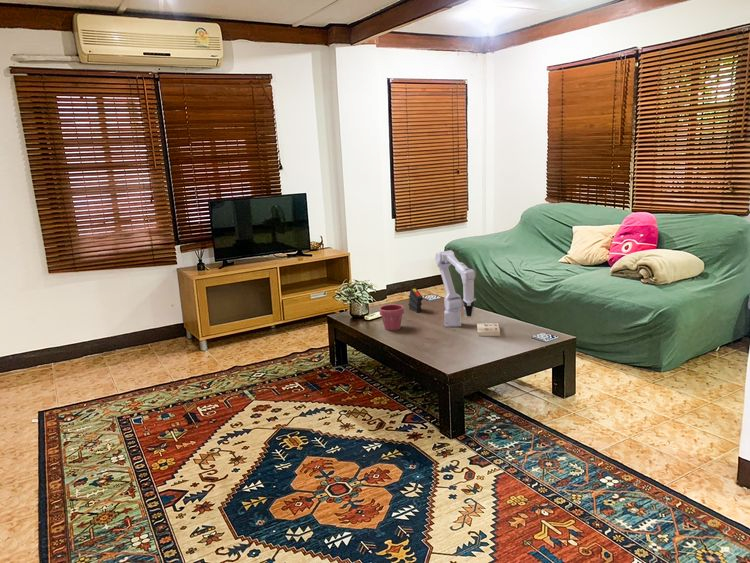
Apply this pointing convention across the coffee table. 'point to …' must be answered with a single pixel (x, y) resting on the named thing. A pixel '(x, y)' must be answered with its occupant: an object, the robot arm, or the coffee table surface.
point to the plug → (468, 316)
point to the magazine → (415, 300)
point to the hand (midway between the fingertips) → (469, 314)
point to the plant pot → (392, 316)
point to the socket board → (488, 329)
